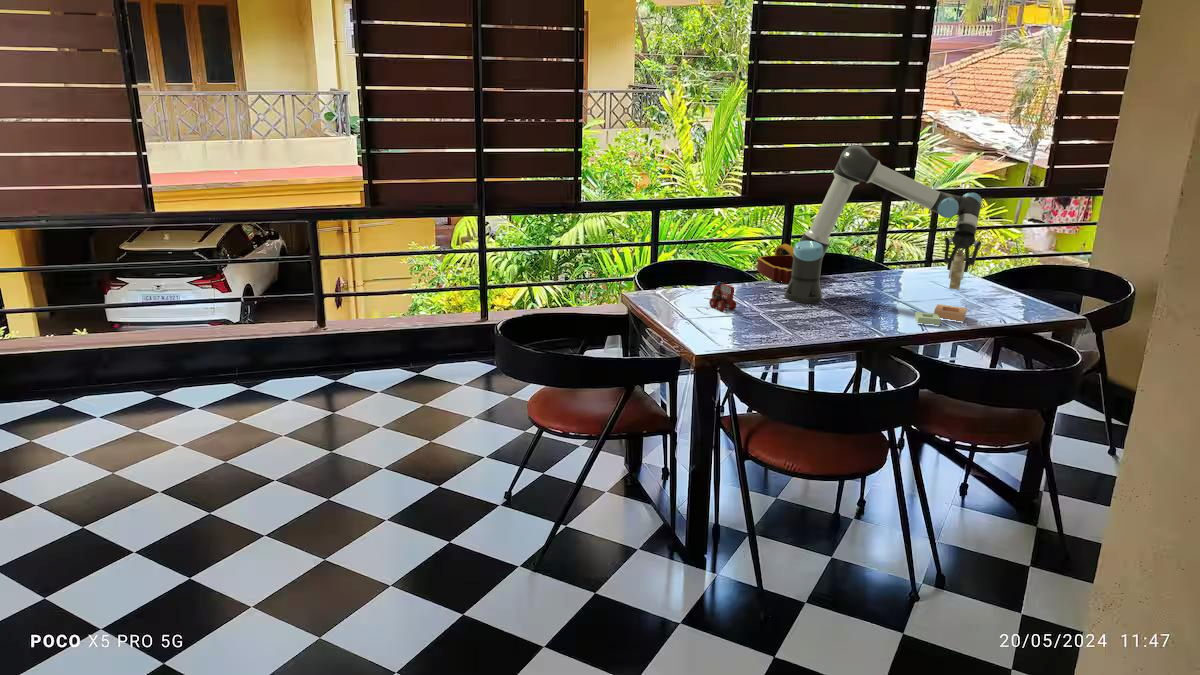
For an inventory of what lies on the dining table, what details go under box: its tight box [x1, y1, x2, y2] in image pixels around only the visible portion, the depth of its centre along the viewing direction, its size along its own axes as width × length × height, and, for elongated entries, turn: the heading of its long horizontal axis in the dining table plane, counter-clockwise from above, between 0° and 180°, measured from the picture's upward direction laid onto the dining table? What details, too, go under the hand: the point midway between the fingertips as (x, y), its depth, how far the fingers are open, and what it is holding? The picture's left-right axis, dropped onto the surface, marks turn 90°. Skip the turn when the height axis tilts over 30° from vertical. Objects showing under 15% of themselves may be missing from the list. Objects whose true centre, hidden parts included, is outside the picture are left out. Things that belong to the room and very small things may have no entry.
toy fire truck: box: [709, 281, 737, 312], centre depth 331 cm, size 7×12×10 cm, turn 27°
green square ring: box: [914, 311, 942, 325], centre depth 323 cm, size 8×8×3 cm
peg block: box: [948, 249, 965, 291], centre depth 326 cm, size 4×4×15 cm
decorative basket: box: [756, 243, 794, 285], centre depth 390 cm, size 34×29×15 cm
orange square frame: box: [933, 304, 968, 322], centre depth 331 cm, size 11×11×4 cm
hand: (955, 277), depth 323 cm, fingers closed on peg block, 3 cm apart
